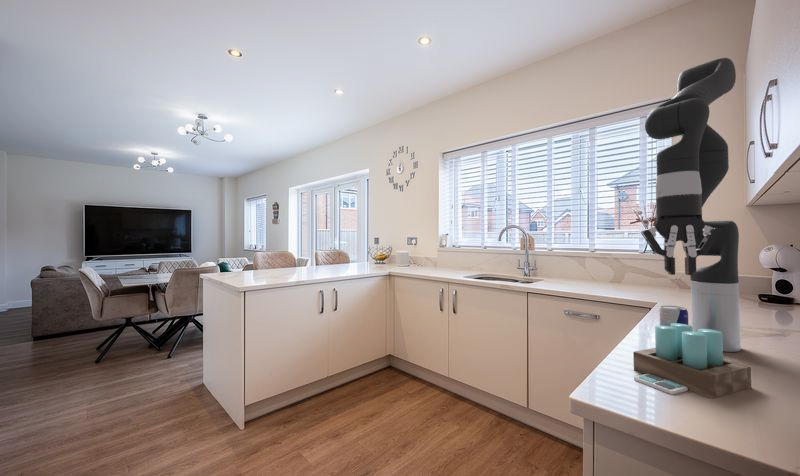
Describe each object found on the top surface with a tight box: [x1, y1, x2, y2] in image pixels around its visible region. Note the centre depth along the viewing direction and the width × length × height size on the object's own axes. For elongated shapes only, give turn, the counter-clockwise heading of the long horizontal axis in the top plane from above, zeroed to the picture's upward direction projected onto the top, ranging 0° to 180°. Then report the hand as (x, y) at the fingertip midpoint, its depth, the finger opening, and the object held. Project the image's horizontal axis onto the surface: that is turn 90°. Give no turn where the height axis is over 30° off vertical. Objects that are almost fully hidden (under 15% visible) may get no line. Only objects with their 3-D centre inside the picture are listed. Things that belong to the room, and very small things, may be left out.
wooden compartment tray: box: [632, 347, 752, 399], centre depth 67 cm, size 12×14×4 cm
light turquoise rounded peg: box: [682, 331, 707, 371], centre depth 64 cm, size 4×4×8 cm
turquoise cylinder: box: [698, 329, 724, 367], centre depth 66 cm, size 4×4×8 cm
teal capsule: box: [671, 323, 693, 356], centre depth 70 cm, size 4×4×8 cm
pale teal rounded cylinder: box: [654, 325, 678, 361], centre depth 69 cm, size 4×4×8 cm
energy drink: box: [659, 305, 689, 327], centre depth 79 cm, size 5×5×12 cm
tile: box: [633, 373, 689, 395], centre depth 64 cm, size 4×7×1 cm, turn 19°
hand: (680, 274), depth 71 cm, fingers open, 2 cm apart
